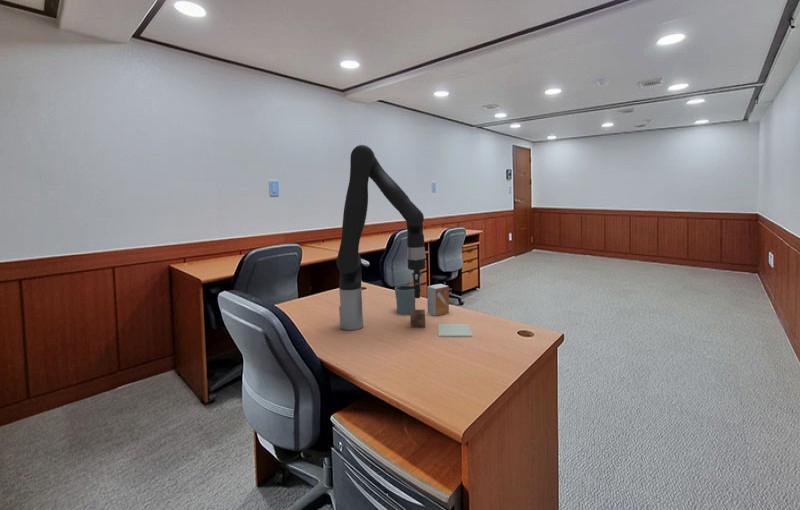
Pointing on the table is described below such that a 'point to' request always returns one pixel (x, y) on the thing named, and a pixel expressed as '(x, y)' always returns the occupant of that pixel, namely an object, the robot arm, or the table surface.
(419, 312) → the cube
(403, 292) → the grey cup
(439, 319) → the table surface
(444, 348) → the table surface
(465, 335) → the pad
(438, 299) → the small box
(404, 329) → the table surface
